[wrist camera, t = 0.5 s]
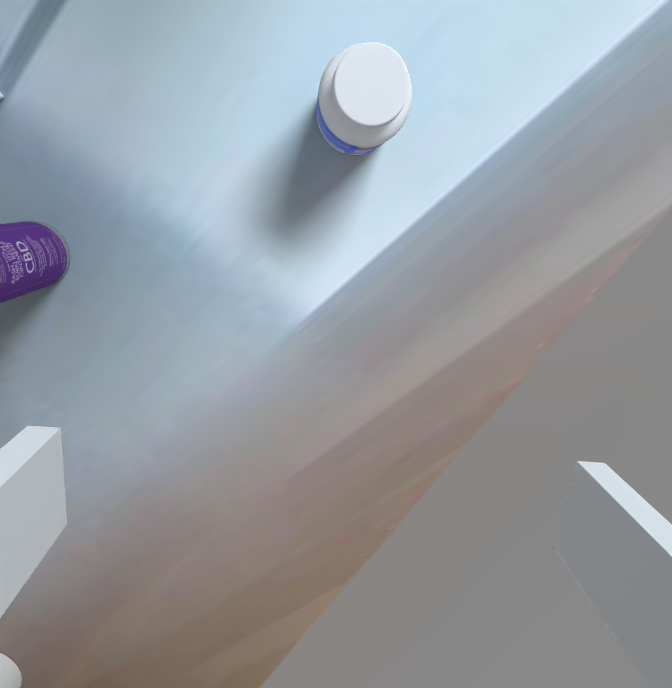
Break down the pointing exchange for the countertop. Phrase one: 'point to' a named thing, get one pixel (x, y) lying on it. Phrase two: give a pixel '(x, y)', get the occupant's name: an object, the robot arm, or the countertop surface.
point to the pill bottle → (363, 98)
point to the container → (30, 258)
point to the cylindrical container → (9, 673)
